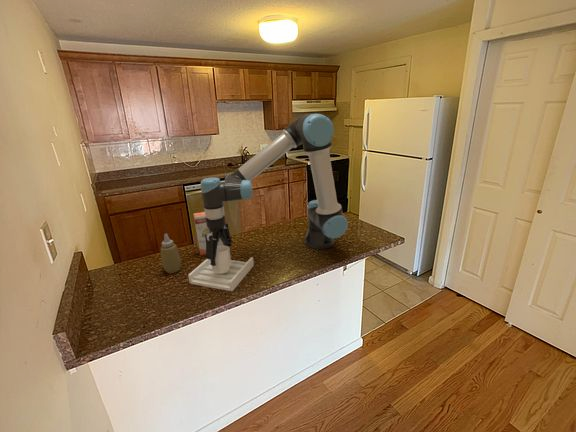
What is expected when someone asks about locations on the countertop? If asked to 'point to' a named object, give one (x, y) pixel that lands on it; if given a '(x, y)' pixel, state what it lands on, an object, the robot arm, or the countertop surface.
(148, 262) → the countertop surface
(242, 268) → the drying rack
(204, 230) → the cracker box
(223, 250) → the white cup
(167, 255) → the squeeze bottle
